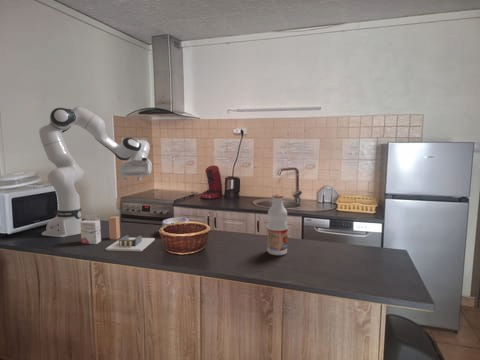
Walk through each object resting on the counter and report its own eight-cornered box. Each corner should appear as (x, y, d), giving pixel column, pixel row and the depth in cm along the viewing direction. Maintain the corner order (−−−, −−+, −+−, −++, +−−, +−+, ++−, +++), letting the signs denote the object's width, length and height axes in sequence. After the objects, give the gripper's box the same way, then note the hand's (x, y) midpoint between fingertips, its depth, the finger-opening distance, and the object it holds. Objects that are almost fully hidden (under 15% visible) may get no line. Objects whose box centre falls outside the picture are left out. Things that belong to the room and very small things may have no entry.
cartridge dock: (105, 250, 153) (105, 242, 152) (122, 239, 171) (122, 231, 170) (141, 251, 151) (140, 243, 151) (154, 239, 169) (154, 232, 169)
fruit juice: (266, 249, 154) (266, 193, 151) (285, 248, 155) (285, 193, 151) (268, 256, 145) (269, 196, 142) (288, 255, 145) (289, 196, 142)
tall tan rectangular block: (109, 239, 170) (108, 217, 169) (113, 237, 174) (112, 216, 173) (116, 239, 170) (115, 218, 169) (120, 237, 174) (119, 216, 173)
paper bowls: (159, 232, 184) (159, 218, 183) (184, 228, 191) (184, 216, 190) (166, 239, 171) (166, 224, 170) (192, 235, 178) (192, 221, 177)
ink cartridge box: (81, 243, 163) (79, 216, 161) (86, 240, 168) (84, 214, 166) (96, 244, 162) (94, 216, 160) (101, 241, 167) (100, 214, 165)
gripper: (120, 159, 196) (113, 177, 188) (150, 158, 192) (144, 176, 184) (125, 165, 201) (118, 183, 193) (154, 164, 197) (149, 182, 189)
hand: (131, 180), depth 189 cm, fingers open, 8 cm apart
